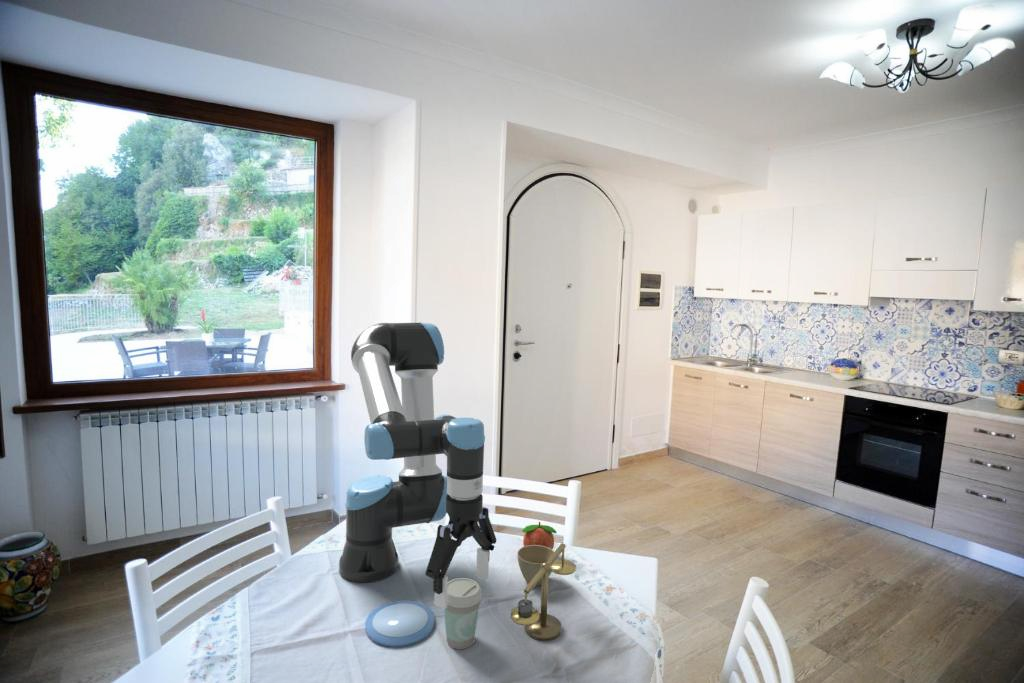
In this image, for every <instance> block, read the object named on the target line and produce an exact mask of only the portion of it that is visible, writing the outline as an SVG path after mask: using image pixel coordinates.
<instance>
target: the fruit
mask: <svg viewBox="0 0 1024 683" xmlns="http://www.w3.org/2000/svg"><path fill="white" fill-rule="evenodd" d="M521 532H522V533H524V535H523V539H522V542H523V544H522V545H523V547H525V546H529V545H540V546H545V547H548V548H550V549H552V550H553V551H554V547H555V538H554V534H557V530H556V529H555V528H553V527H552V526H549V525H545V524H541V521H538V524H530V525H527V526H525V527H524V528H523V529H522V530H521Z"/></svg>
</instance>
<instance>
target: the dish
mask: <svg viewBox="0 0 1024 683" xmlns="http://www.w3.org/2000/svg"><path fill="white" fill-rule="evenodd" d="M365 619H366V620H365V623H364V624H365V625H364V627H365V628H364V630H365V634H366V636H367V638H369V639H370V640H371V642H374V643H376V644H377V645H380V646H384V647H392V648H394V647H395V648H396V647H397V648H398V647H406V646H409V645H413V644H417V643H419V642H420V641H422V640H424V639H425V638H427V637H428V636H429V635H430V634H431V633H432V632H433V629H434V626H435V615H434V612H433V611H432V608H430V607H429V606H427V605H426V604H424V603H423V602H422V603H421V602H418V601H415V600H395V601H390V602H387V603H384V604H382V605H380V606H378V607H375V609H373V610H372V611H370V613H369V614H368V616H367V617H366V618H365Z"/></svg>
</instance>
